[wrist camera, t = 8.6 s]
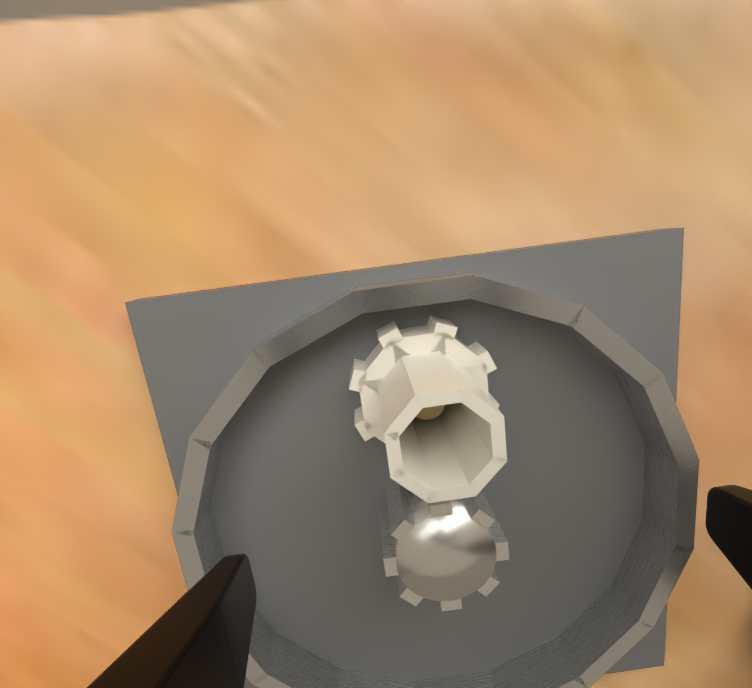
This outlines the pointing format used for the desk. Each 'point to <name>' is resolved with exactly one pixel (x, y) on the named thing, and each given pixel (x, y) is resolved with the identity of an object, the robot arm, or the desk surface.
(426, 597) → the sun gear
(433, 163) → the desk surface
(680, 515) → the grey flat ring
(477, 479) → the gear
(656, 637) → the tray
